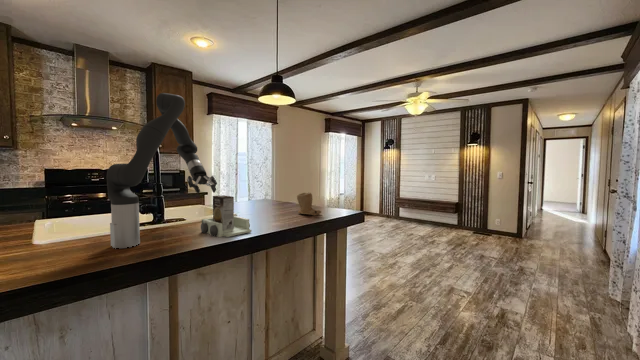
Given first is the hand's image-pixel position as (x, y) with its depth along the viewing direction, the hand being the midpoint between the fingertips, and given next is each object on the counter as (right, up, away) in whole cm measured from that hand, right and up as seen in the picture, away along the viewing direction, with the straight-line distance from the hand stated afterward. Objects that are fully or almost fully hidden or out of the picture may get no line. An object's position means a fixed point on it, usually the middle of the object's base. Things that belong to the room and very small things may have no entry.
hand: (206, 191), depth 145 cm
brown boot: (+50, -17, +43) cm, 68 cm away
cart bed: (+13, -19, -7) cm, 25 cm away
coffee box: (+11, -18, -6) cm, 22 cm away
